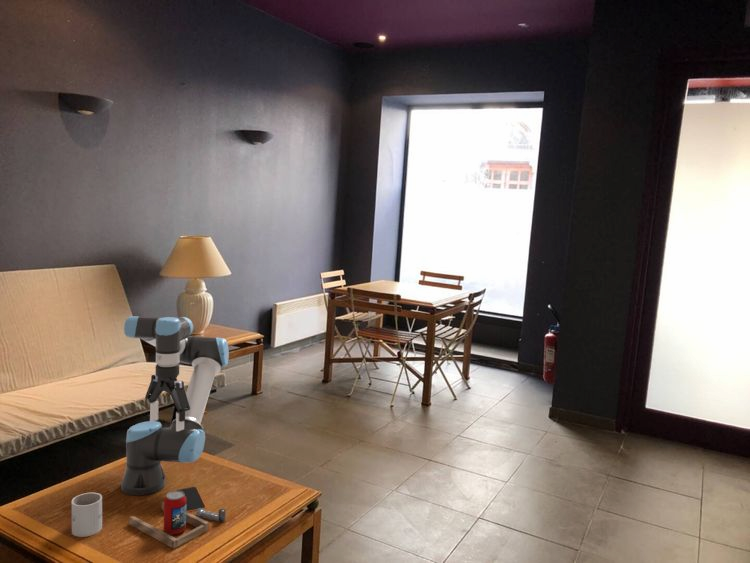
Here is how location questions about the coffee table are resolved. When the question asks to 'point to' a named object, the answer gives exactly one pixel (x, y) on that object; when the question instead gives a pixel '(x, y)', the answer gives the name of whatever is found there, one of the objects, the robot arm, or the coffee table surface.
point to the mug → (86, 514)
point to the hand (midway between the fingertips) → (166, 425)
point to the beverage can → (175, 512)
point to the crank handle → (211, 514)
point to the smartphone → (193, 499)
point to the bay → (166, 538)
